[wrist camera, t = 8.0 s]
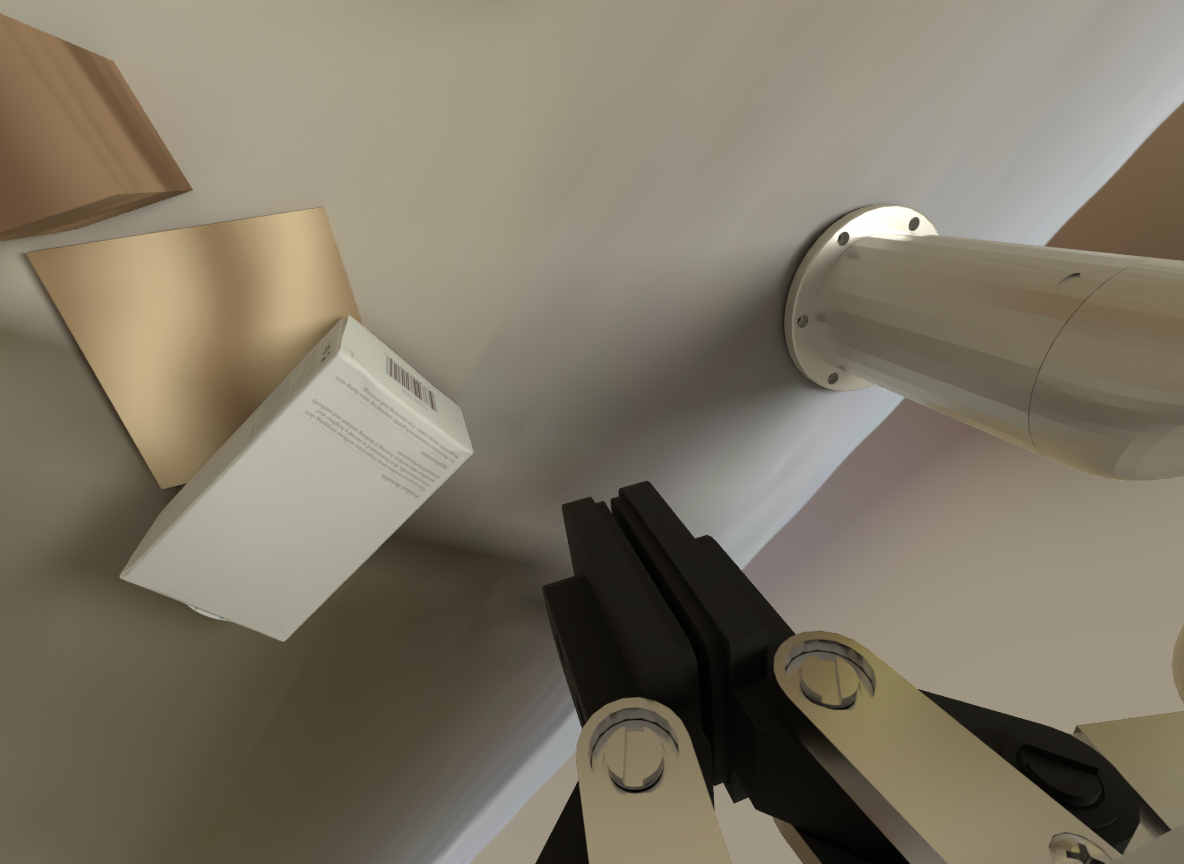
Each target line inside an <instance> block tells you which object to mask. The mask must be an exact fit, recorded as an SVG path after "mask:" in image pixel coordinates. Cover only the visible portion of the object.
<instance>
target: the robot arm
mask: <svg viewBox="0 0 1184 864" xmlns="http://www.w3.org/2000/svg"><path fill="white" fill-rule="evenodd" d="M784 329H785V339H786V344H787V347H788V350H789V354H790V356H791V358H792V360H793V362H794V364H795V365H796V367H797V368H798V369H799V371H800V372H801V373H802V374H803V375H804V376H805V377H806V378H808V379H810V380H811V381H813V382H815V383H816V384H818V385H820V386H823V387H825V388H827V389H830V390H836V391H856V390H859V389H863V388H866V387H870V386H872V385H874V384H876V385H878V386H880V387H883V388H885V389H887V390H890V391H892V392H894V393H897V394H899V395H901V396H904V397H906V398H908V399H911V400H913V401H915V402H918V403H920V404H922V405H925V406H927V407H929V408H932V409H934V410H937V411H939V412H941V413H943V414H946V415H948V416H950V417H953V418H955V419H957V420H960V421H962V422H964V423H967V424H969V425H971V426H974V427H976V428H978V429H981V430H983V431H985V432H988V433H990V434H992V435H995V436H997V437H999V438H1002V439H1004V440H1006V441H1009V442H1011V443H1013V444H1016V445H1018V446H1021V447H1023V448H1025V449H1027V450H1030V451H1032V452H1035V453H1037V454H1039V455H1042V456H1044V457H1047V458H1049V459H1052V460H1054V461H1056V462H1059V463H1061V464H1063V465H1066V466H1068V467H1071V468H1073V469H1076V470H1078V471H1081V472H1084V473H1087V474H1090V475H1094V476H1099V477H1103V478H1109V479H1117V480H1126V481H1150V480H1159V479H1168V478H1175V477H1181V476H1184V261H1177V260H1168V259H1158V258H1149V257H1139V256H1129V255H1120V254H1111V253H1101V252H1091V251H1082V250H1072V249H1063V248H1053V247H1044V246H1034V245H1025V244H1015V243H1006V242H996V241H987V240H977V239H968V238H958V237H949V236H939V234H938V232H937V231H936V229H935V227H934V226H933V224H932V223H931V222H930V221H929V220H928V219H927V218H926V217H925V216H924V215H923V214H922V213H920V212H918V211H916V210H914V209H912V208H910V207H906V206H901V205H894V204H877V205H872V206H867V207H863V208H860V209H858V210H856V211H853V212H851V213H849V214H847V215H846V216H844V217H843V218H841V219H840V220H838V221H837V222H835V223H834V224H832V225H831V226H830V227H829V228H828V229H827V230H826V231H825V232H824V233H823V234H822V235H821V236H820V237H819V238H818V239H817V240H816V242H815V243H814V244H813V246H812V247H811V248H810V249H809V251H808V252H807V253H806V255H805V257H804V259H803V261H802V262H801V264H800V266H799V268H798V269H797V271H796V274H795V276H794V279H793V282H792V284H791V287H790V289H789V294H788V298H787V302H786V307H785V319H784ZM611 510H612V513H611V512H610V510H609V508H608V507H607V505H606V503H605V502H604V501H602V502H598V503H595V502H594V500H593V499H592V498H591V497H588V498H584V499H581V500H577V501H573V502H570V503H566V504H563V505H562V511H563V517H564V522H565V528H566V533H567V538H568V544H569V549H570V554H571V560H572V565H573V570H574V576H573V577H570V578H567V579H564V580H560V581H557V582H554V583H551V584H548V585H544V586H543V587H542V588H543V594H544V599H545V603H546V608H547V612H548V617H549V621H550V625H551V629H552V633H553V636H554V640H555V644H556V647H557V651H558V654H559V658H560V661H561V664H562V667H563V671H564V674H565V677H566V680H567V683H568V686H569V689H570V692H571V696H572V699H573V702H574V705H575V708H576V711H577V714H578V718H579V721H580V724H581V727H582V731H581V734H580V737H579V740H578V742H577V756H576V763H577V771H578V779H579V780H578V782H577V784H576V786H575V788H574V790H573V792H572V794H571V796H570V798H569V800H568V802H567V804H566V806H565V807H564V809H563V811H562V813H561V815H560V817H559V819H558V821H557V823H556V825H555V827H554V829H553V831H552V833H551V834H550V836H549V838H548V840H547V842H546V844H545V846H544V848H543V850H542V852H541V854H540V856H539V858H538V860H537V862H536V863H535V864H732V863H731V860H730V857H729V854H728V851H727V848H726V845H725V842H724V839H723V836H722V833H721V830H720V827H719V824H718V821H717V818H716V815H715V811H714V791H713V785H714V786H716V785H718V784H721V783H724V785H725V787H726V789H727V791H728V793H729V795H730V797H731V799H732V801H733V803H736V802H739V801H741V800H743V799H746V798H748V797H749V799H750V800H751V802H752V804H753V806H754V808H755V809H757V810H759V811H761V812H763V813H765V814H768V815H770V816H773V819H774V822H775V824H776V825H777V827H778V829H779V831H780V833H781V834H782V836H783V837H784V839H785V840H786V841H787V843H788V844H789V845H790V847H791V848H792V849H793V851H794V852H795V853H796V855H797V856H798V858H799V859H800V860H801V862H802V863H803V864H1184V711H1180V712H1173V713H1166V714H1159V715H1151V716H1144V717H1136V718H1130V719H1122V720H1115V721H1107V722H1099V723H1092V724H1084V725H1077V726H1076V728H1075V731H1074V733H1073V734H1067V733H1065V732H1062V731H1059V730H1057V729H1054V728H1052V727H1049V726H1046V725H1043V724H1039V723H1036V722H1032V721H1028V720H1025V719H1022V718H1018V717H1014V716H1011V715H1007V714H1004V713H1000V712H997V711H993V710H990V709H986V708H982V707H979V706H976V705H972V704H969V703H965V702H962V701H958V700H955V699H951V698H947V697H944V696H941V695H937V694H933V693H930V692H926V691H923V690H920V689H917V688H915V687H914V686H913V685H912V684H910V683H909V682H908V681H907V680H906V679H904V678H903V677H902V676H901V675H899V674H898V673H897V672H896V671H894V670H893V669H892V668H891V667H889V666H888V665H887V664H886V663H885V662H883V661H882V660H881V659H879V658H878V657H877V656H876V655H875V654H873V653H872V652H871V651H870V650H868V649H867V648H865V647H864V646H862V645H861V644H859V643H858V642H856V641H855V640H853V639H850V638H847V637H845V636H842V635H840V634H837V633H830V632H824V631H812V632H803V633H800V634H797V635H796V634H795V633H794V632H793V631H792V630H791V629H790V627H789V626H788V625H787V624H786V622H785V621H784V620H783V619H782V618H781V617H780V616H779V614H778V613H777V612H776V611H775V610H774V609H773V607H772V606H771V605H770V604H769V603H768V601H767V600H766V599H765V598H764V597H763V595H762V594H761V593H760V592H759V591H758V590H757V589H756V587H755V586H754V585H753V584H752V583H751V582H750V580H749V579H748V578H747V577H746V576H745V574H744V573H743V572H742V571H741V570H740V569H739V567H738V566H737V565H736V564H735V563H734V562H733V560H732V559H731V558H730V557H729V556H728V555H727V553H726V552H725V551H724V550H723V549H722V547H721V546H720V545H719V544H718V543H717V542H716V541H715V540H714V539H713V538H712V537H711V536H708V535H705V536H702V537H698V538H694V537H693V536H692V534H691V533H690V532H689V531H688V529H687V528H686V527H685V526H684V524H683V523H682V522H681V521H680V519H679V518H678V517H677V516H676V514H675V513H674V512H673V511H672V509H671V508H670V507H669V506H668V504H667V503H666V502H665V501H664V499H663V498H662V497H661V496H660V494H659V493H658V492H657V491H656V489H655V488H654V487H653V486H652V484H651V483H650V482H649V481H644V482H641V483H637V484H634V485H630V486H627V487H623V488H620V489H619V497H616V498H612V499H611ZM1172 670H1173V677H1174V682H1175V685H1176V688H1177V690H1178V693H1179V695H1180V697H1181V699H1182V701H1183V703H1184V625H1183V627H1182V629H1181V631H1180V633H1179V635H1178V638H1177V640H1176V643H1175V646H1174V651H1173V659H1172Z"/></svg>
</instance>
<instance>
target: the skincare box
mask: <svg viewBox="0 0 1184 864" xmlns="http://www.w3.org/2000/svg"><path fill="white" fill-rule="evenodd" d="M472 454H473V449H472V445H471V441H470V438H469V435H468V431H467V428H466V425H465V422H464V418H463V415H462V412H461V409H460V408H459V406H458V405H457V404H456V403H454V402H453V401H452V400H451V399H450V398H448V397H447V396H446V395H444V394H443V393H441V392H440V391H439V390H438V389H436V388H435V387H434V386H433V385H431V384H430V383H429V382H428V381H427V380H426V379H424V378H423V377H422V376H421V375H420V374H419V373H418V372H416V371H415V370H414V369H413V368H412V367H411V366H410V365H408V364H407V363H406V362H405V361H404V360H403V359H401V358H400V357H399V356H398V355H397V354H395V353H394V352H393V351H392V350H391V349H390V348H388V347H387V346H386V345H385V344H384V343H382V342H381V341H380V340H379V339H378V338H376V337H375V336H374V335H373V334H371V333H370V332H369V331H368V330H367V329H366V328H365V327H364V326H363V325H361V324H360V323H359V322H358V321H356V320H355V319H354V318H353V317H351V316H350V315H348V317H347V318H343V319H341V320H339V321H338V322H337V323H336V325H335V326H334V327H333V328H332V329H331V330H330V331H329V332H328V333H327V334H326V335H325V336H324V337H323V338H322V339H321V340H320V341H319V343H318V344H317V345H316V346H315V347H314V348H313V349H312V350H311V351H310V352H309V353H308V354H307V355H306V356H305V357H304V358H303V359H302V361H301V362H300V363H299V364H298V365H297V366H296V367H295V368H294V369H293V370H292V371H291V372H290V373H289V375H288V376H287V377H286V378H285V379H284V380H283V381H282V382H281V383H280V384H279V385H278V386H277V387H276V389H275V390H274V391H273V392H272V393H271V394H270V395H269V396H268V397H267V398H266V399H265V400H264V402H263V403H262V404H261V405H260V406H259V407H258V408H257V409H256V410H255V411H254V412H253V413H252V414H251V415H250V417H249V418H248V419H247V420H246V421H245V422H244V423H243V424H242V425H241V426H240V427H239V428H238V429H237V430H236V431H235V432H234V433H233V435H232V436H231V437H230V438H229V439H228V440H227V441H226V442H225V443H224V444H223V445H222V446H221V447H220V448H219V449H218V451H217V452H216V453H215V454H214V455H213V456H212V457H211V458H210V459H209V460H208V461H207V462H206V463H205V464H204V465H203V466H202V468H201V469H200V470H199V471H198V472H197V473H196V474H195V475H194V476H193V477H192V478H191V479H190V480H189V482H188V483H187V484H186V485H185V486H184V487H183V488H182V489H181V490H180V491H179V492H178V494H177V495H176V496H175V497H174V498H173V499H172V500H171V501H170V502H169V504H168V505H167V506H166V507H165V508H164V509H163V510H162V512H161V513H160V514H159V516H158V517H157V519H156V520H155V522H154V523H153V525H152V526H151V528H150V529H149V530H148V532H147V533H146V535H145V536H144V538H143V539H142V541H141V542H140V544H139V545H138V547H137V549H136V550H135V552H134V553H133V555H132V556H131V558H130V560H129V561H128V563H127V565H126V566H125V568H124V569H123V571H122V572H121V574H120V576H119V577H120V578H121V579H123V580H125V581H128V582H131V583H134V584H136V585H139V586H141V587H144V588H146V589H149V590H151V591H154V592H157V593H159V594H162V595H165V596H167V597H170V598H173V599H175V600H177V601H180V602H182V603H185V604H186V605H187V606H189V607H190V608H192V609H193V610H195V611H196V612H198V613H200V614H203V615H205V616H208V617H211V618H214V619H219V620H225V621H231V622H234V623H236V624H239V625H242V626H244V627H247V628H249V629H252V630H255V631H257V632H260V633H262V634H265V635H267V636H270V637H272V638H275V639H277V640H279V641H282V642H284V641H285V640H287V639H288V638H289V637H290V636H291V635H292V634H293V633H294V632H295V631H296V630H297V629H298V628H299V627H300V626H301V625H302V624H303V623H304V622H305V621H306V620H307V619H308V618H309V617H310V616H311V615H312V614H313V613H314V612H315V611H316V610H317V609H318V608H319V607H320V606H321V605H322V604H323V603H324V602H325V601H326V600H327V599H328V598H329V597H330V596H331V595H332V594H333V593H334V592H335V591H336V590H337V589H338V588H339V587H340V586H341V585H342V584H343V583H344V582H345V581H346V580H347V579H348V578H349V577H350V576H351V575H352V574H353V573H354V572H355V571H356V570H357V569H358V568H359V567H360V566H361V565H362V564H363V563H364V562H365V561H366V560H367V559H368V558H369V557H370V556H371V555H372V554H373V553H374V552H375V551H376V550H377V549H378V548H379V547H380V546H381V545H382V544H383V543H384V542H385V541H386V540H387V539H388V538H389V537H390V536H391V535H392V534H393V533H394V532H395V531H396V530H397V529H398V528H399V527H400V526H401V525H402V524H403V523H404V522H405V521H406V520H407V519H408V518H409V517H410V516H411V515H412V514H413V513H414V512H415V511H416V510H417V509H418V508H419V507H420V506H421V505H422V504H423V503H424V502H425V501H426V500H427V499H428V498H429V497H430V496H431V495H432V494H433V493H434V492H435V491H436V490H437V489H438V488H439V487H440V486H441V485H442V484H443V483H444V482H445V481H446V480H447V479H448V478H449V477H450V476H451V475H452V474H453V473H454V472H455V471H456V470H457V469H458V468H459V467H460V466H461V465H462V464H463V463H464V462H465V461H466V460H467V459H468V458H469V457H470V456H471V455H472Z"/></svg>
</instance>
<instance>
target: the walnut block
mask: <svg viewBox="0 0 1184 864" xmlns="http://www.w3.org/2000/svg"><path fill="white" fill-rule="evenodd" d="M191 190H193V189H192V188H191V186H190V185H189V183H188V181H187V180H186V178H185V176H184V175H183V173H182V172H181V170H180V168H179V167H178V165H177V164H176V162H175V160H174V159H173V157H172V155H171V154H170V152H169V151H168V149H167V147H166V146H165V144H164V142H163V141H162V139H161V138H160V136H159V134H158V133H157V131H156V129H155V128H154V126H153V125H152V123H151V121H150V120H149V118H148V116H147V115H146V113H145V112H144V110H143V108H142V107H141V105H140V104H139V102H138V100H137V99H136V97H135V95H134V94H133V92H132V91H131V89H130V87H129V86H128V84H127V82H126V81H125V79H124V78H123V76H122V74H121V73H120V71H119V69H118V68H117V66H116V65H115V63H114V61H112V60H109V59H107V58H105V57H102V56H100V55H97V54H95V53H93V52H90V51H88V50H86V49H83V48H81V47H78V46H76V45H74V44H71V43H69V42H67V41H64V40H62V39H59V38H57V37H55V36H52V35H50V34H47V33H45V32H43V31H40V30H38V29H36V28H33V27H31V26H28V25H26V24H24V23H21V22H19V21H17V20H14V19H12V18H9V17H7V16H5V15H2V14H0V241H6V240H12V239H18V238H24V237H31V236H37V235H43V234H49V233H55V232H61V231H68V230H74V229H78V228H81V227H84V226H87V225H90V224H93V223H96V222H99V221H102V220H105V219H108V218H111V217H114V216H117V215H120V214H123V213H126V212H129V211H132V210H135V209H138V208H141V207H144V206H147V205H150V204H153V203H156V202H158V201H161V200H164V199H167V198H170V197H173V196H176V195H179V194H182V193H185V192H188V191H191Z"/></svg>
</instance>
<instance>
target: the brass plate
mask: <svg viewBox="0 0 1184 864" xmlns="http://www.w3.org/2000/svg"><path fill="white" fill-rule="evenodd" d="M26 254H27V256H28V258H29V260H30V261H31V263H32V265H33V266H34V268H35V270H36V272H37V273H38V275H39V277H40V279H41V280H42V282H43V284H44V286H45V287H46V289H47V291H48V293H49V294H50V296H51V298H52V300H53V301H54V303H55V305H56V307H57V308H58V310H59V312H60V313H61V315H62V317H63V319H64V320H65V322H66V324H67V326H68V327H69V329H70V331H71V333H72V334H73V336H74V338H75V340H76V341H77V343H78V345H79V347H80V348H81V350H82V352H83V353H84V355H85V357H86V359H87V360H88V362H89V364H90V366H91V367H92V369H93V371H94V373H95V374H96V376H97V378H98V380H99V381H100V383H101V385H102V387H103V388H104V390H105V392H106V394H107V395H108V397H109V399H110V400H111V402H112V404H113V406H114V407H115V409H116V411H117V413H118V414H119V416H120V418H121V420H122V421H123V423H124V425H125V427H126V428H127V430H128V432H129V434H130V435H131V437H132V439H133V440H134V442H135V444H136V446H137V447H138V449H139V451H140V453H141V454H142V456H143V458H144V460H145V461H146V463H147V465H148V467H149V468H150V470H151V472H152V474H153V475H154V477H155V479H156V481H157V482H158V484H159V486H160V487H161V489H166V488H170V487H174V486H178V485H182V484H186V483H188V482H189V480H190V479H191V478H192V477H193V476H194V475H195V474H196V473H197V472H198V471H199V470H200V469H201V468H202V466H203V465H204V464H205V463H206V462H207V461H208V460H209V459H210V458H211V457H212V456H213V455H214V454H215V453H216V452H217V451H218V449H219V448H220V447H221V446H222V445H223V444H224V443H225V442H226V441H227V440H228V439H229V438H230V437H231V436H232V435H233V433H234V432H235V431H236V430H237V429H238V428H239V427H240V426H241V425H242V424H243V423H244V422H245V421H246V420H247V419H248V418H249V417H250V415H251V414H252V413H253V412H254V411H255V410H256V409H257V408H258V407H259V406H260V405H261V404H262V403H263V402H264V400H265V399H266V398H267V397H268V396H269V395H270V394H271V393H272V392H273V391H274V390H275V389H276V387H277V386H278V385H279V384H280V383H281V382H282V381H283V380H284V379H285V378H286V377H287V376H288V375H289V373H290V372H291V371H292V370H293V369H294V368H295V367H296V366H297V365H298V364H299V363H300V362H301V361H302V359H303V358H304V357H305V356H306V355H307V354H308V353H309V352H310V351H311V350H312V349H313V348H314V347H315V346H316V345H317V344H318V343H319V341H320V340H321V339H322V338H323V337H324V336H325V335H326V334H327V333H328V332H329V331H330V330H331V329H332V328H333V327H334V326H335V325H336V323H337V322H338V321H339V320H341V319H343V318H347V317H348V315H350V316H351V317H353V318H354V319H355V320H356V321H358V322H359V323H360V324H361V325H362V322H361V319H360V315H359V312H358V309H357V306H356V303H355V300H354V297H353V294H352V291H351V288H350V285H349V282H348V279H347V276H346V272H345V269H344V266H343V263H342V260H341V257H340V254H339V251H338V248H337V245H336V242H335V239H334V236H333V233H332V229H331V226H330V223H329V220H328V217H327V214H326V211H325V208H324V207H320V208H313V209H307V210H300V211H294V212H287V213H280V214H274V215H267V216H261V217H254V218H248V219H241V220H235V221H228V222H222V223H215V224H208V225H202V226H195V227H189V228H182V229H176V230H169V231H163V232H156V233H150V234H143V235H137V236H130V237H123V238H117V239H110V240H104V241H97V242H91V243H84V244H78V245H71V246H65V247H58V248H51V249H45V250H38V251H32V252H27V253H26Z"/></svg>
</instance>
